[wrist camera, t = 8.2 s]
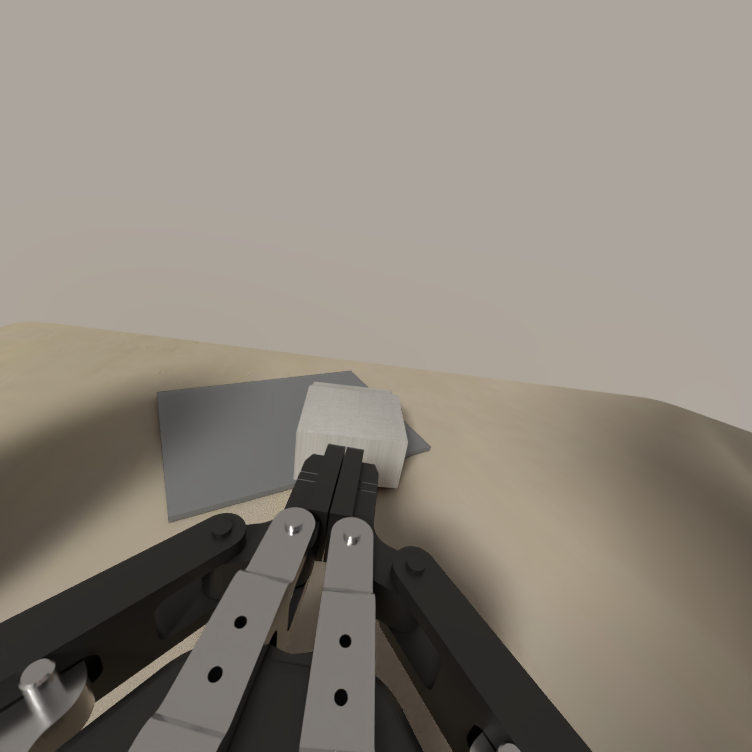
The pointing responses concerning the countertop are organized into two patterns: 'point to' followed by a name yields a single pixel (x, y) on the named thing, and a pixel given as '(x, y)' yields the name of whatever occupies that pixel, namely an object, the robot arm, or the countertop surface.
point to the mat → (237, 440)
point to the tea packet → (353, 427)
